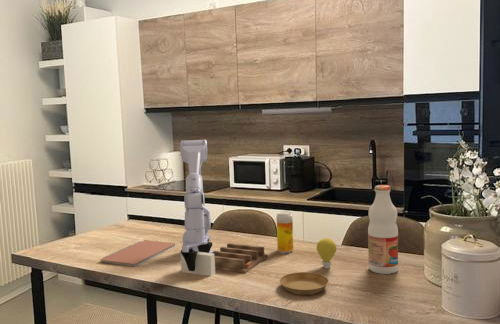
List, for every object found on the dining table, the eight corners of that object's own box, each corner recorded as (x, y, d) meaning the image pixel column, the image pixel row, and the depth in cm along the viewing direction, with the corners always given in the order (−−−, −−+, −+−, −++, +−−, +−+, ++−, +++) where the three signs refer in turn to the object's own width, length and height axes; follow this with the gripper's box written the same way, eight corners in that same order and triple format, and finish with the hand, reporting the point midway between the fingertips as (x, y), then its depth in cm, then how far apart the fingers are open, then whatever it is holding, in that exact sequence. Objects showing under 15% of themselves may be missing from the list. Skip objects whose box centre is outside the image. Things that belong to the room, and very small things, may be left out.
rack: (202, 267, 161) (201, 256, 160) (227, 252, 177) (226, 242, 176) (245, 273, 153) (245, 261, 153) (267, 257, 169) (267, 246, 169)
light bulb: (338, 264, 158) (337, 236, 157) (335, 271, 152) (334, 241, 151) (318, 263, 160) (318, 235, 159) (315, 269, 154) (314, 240, 153)
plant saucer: (288, 277, 148) (288, 269, 148) (333, 282, 143) (333, 274, 142) (273, 294, 135) (272, 286, 134) (322, 301, 129) (322, 292, 129)
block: (181, 271, 157) (180, 252, 156) (185, 269, 159) (184, 250, 159) (211, 276, 152) (210, 255, 151) (215, 273, 154) (214, 253, 153)
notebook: (143, 243, 195) (142, 239, 195) (176, 247, 188) (176, 242, 188) (98, 263, 171) (97, 258, 170) (134, 268, 164) (134, 263, 164)
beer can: (292, 253, 172) (291, 214, 170) (276, 253, 173) (275, 214, 172) (294, 249, 178) (293, 211, 176) (278, 248, 179) (277, 211, 177)
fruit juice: (369, 264, 157) (368, 183, 154) (398, 266, 154) (397, 183, 152) (367, 273, 148) (366, 188, 145) (398, 275, 146) (397, 188, 143)
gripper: (194, 234, 146) (196, 275, 147) (217, 223, 159) (218, 261, 160) (175, 232, 149) (178, 272, 150) (199, 222, 162) (201, 259, 163)
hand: (197, 267), depth 155 cm, fingers open, 7 cm apart
